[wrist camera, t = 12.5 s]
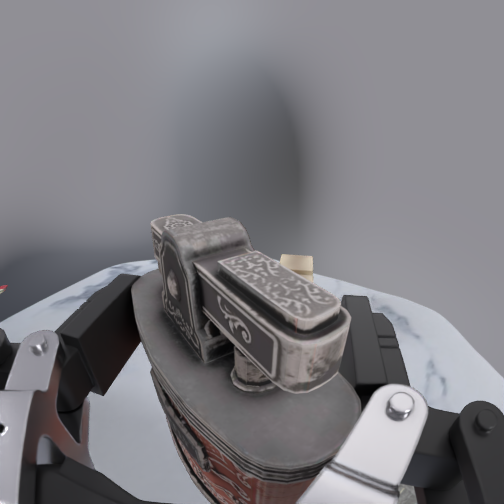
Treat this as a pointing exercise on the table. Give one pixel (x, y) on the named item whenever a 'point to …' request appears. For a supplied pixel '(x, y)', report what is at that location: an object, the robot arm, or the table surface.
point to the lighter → (243, 362)
